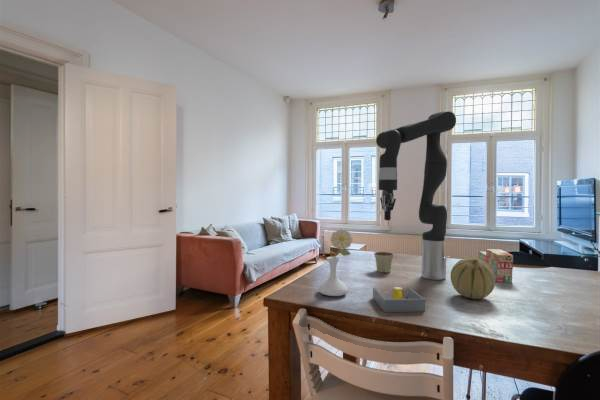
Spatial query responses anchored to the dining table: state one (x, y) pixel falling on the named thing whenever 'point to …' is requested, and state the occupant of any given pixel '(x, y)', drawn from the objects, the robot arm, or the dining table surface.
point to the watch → (397, 293)
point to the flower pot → (383, 261)
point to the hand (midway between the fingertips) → (387, 220)
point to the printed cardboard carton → (499, 264)
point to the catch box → (400, 302)
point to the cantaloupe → (472, 278)
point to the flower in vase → (333, 284)
